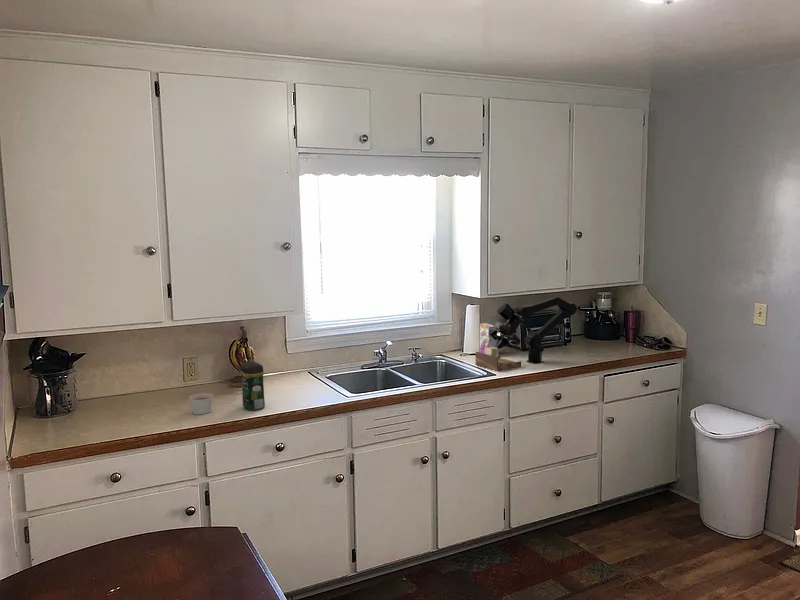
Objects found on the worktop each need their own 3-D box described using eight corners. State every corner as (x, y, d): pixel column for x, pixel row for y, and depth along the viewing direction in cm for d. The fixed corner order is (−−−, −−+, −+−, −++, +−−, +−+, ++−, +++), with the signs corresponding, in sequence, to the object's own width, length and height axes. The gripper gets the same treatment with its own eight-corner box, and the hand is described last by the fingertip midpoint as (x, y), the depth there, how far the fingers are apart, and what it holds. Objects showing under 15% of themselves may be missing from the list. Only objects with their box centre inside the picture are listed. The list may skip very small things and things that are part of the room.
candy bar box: (478, 353, 360) (478, 323, 358) (486, 352, 362) (486, 323, 360) (488, 357, 350) (488, 326, 348) (496, 356, 352) (497, 326, 350)
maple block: (491, 362, 329) (491, 346, 328) (498, 364, 325) (498, 348, 324) (484, 363, 327) (484, 347, 326) (491, 365, 322) (491, 349, 321)
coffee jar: (240, 406, 264) (238, 361, 262) (259, 403, 268) (257, 358, 266) (247, 412, 256) (245, 365, 253) (267, 409, 260) (265, 363, 257)
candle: (218, 411, 258) (217, 395, 257) (199, 417, 250) (199, 401, 249) (203, 407, 263) (202, 392, 262) (184, 413, 255) (184, 397, 255)
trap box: (499, 361, 340) (499, 348, 339) (521, 367, 326) (521, 353, 326) (475, 365, 331) (475, 351, 330) (496, 371, 318) (496, 357, 317)
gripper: (491, 313, 335) (474, 337, 330) (516, 318, 319) (499, 343, 315) (502, 327, 340) (486, 350, 336) (528, 332, 325) (511, 357, 320)
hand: (495, 350), depth 326 cm, fingers closed, pressing on maple block
